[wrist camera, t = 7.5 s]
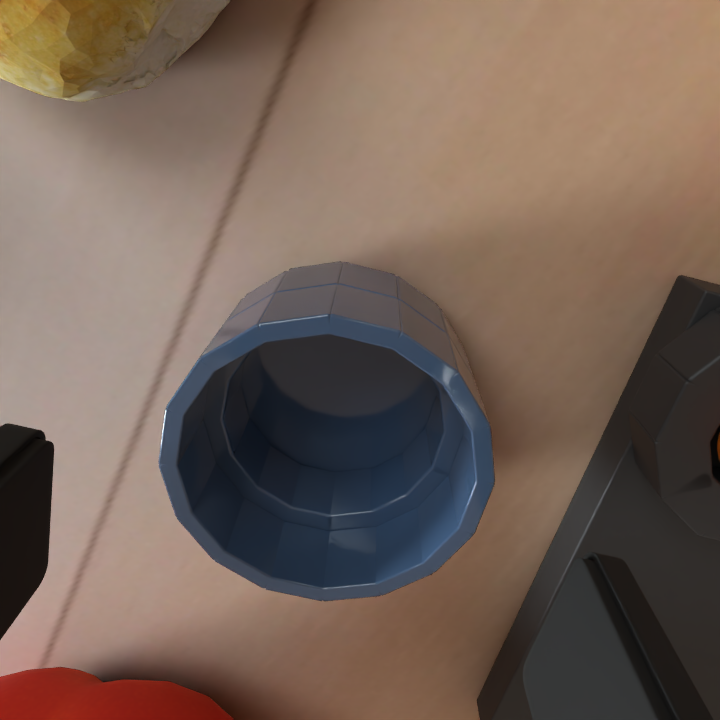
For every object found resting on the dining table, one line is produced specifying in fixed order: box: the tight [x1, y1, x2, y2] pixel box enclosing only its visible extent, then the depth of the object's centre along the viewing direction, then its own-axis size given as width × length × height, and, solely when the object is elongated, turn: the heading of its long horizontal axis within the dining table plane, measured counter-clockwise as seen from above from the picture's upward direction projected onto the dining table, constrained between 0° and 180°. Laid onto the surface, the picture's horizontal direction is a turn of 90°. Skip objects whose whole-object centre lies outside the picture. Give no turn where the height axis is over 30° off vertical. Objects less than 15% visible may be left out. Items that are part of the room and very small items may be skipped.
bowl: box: [159, 261, 495, 601], centre depth 14 cm, size 7×7×4 cm
